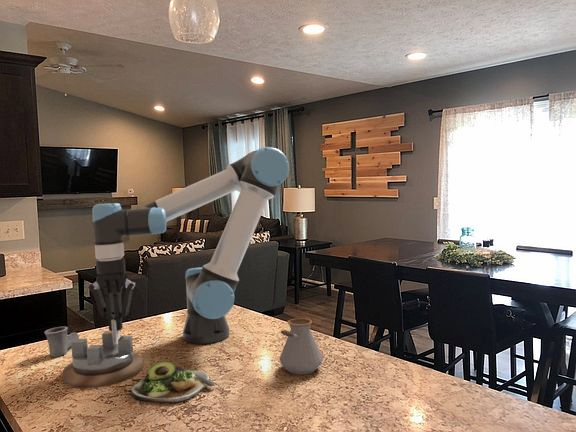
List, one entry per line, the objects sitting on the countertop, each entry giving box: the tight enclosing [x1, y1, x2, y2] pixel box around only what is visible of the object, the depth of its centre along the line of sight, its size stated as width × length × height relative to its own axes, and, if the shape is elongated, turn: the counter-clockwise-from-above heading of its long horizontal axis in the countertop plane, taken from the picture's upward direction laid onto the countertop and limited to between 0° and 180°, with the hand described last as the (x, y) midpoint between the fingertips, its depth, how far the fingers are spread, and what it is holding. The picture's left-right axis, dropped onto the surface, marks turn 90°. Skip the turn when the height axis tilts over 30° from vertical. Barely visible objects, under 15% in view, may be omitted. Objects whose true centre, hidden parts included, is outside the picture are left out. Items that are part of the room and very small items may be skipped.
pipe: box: [44, 326, 80, 358], centre depth 140 cm, size 6×13×8 cm, turn 174°
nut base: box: [62, 352, 144, 389], centre depth 124 cm, size 20×20×2 cm
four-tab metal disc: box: [71, 329, 134, 375], centre depth 123 cm, size 15×15×7 cm
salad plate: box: [130, 360, 216, 403], centre depth 113 cm, size 19×18×5 cm
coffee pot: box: [276, 317, 324, 375], centre depth 117 cm, size 21×12×15 cm, turn 162°
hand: (116, 341), depth 129 cm, fingers closed
